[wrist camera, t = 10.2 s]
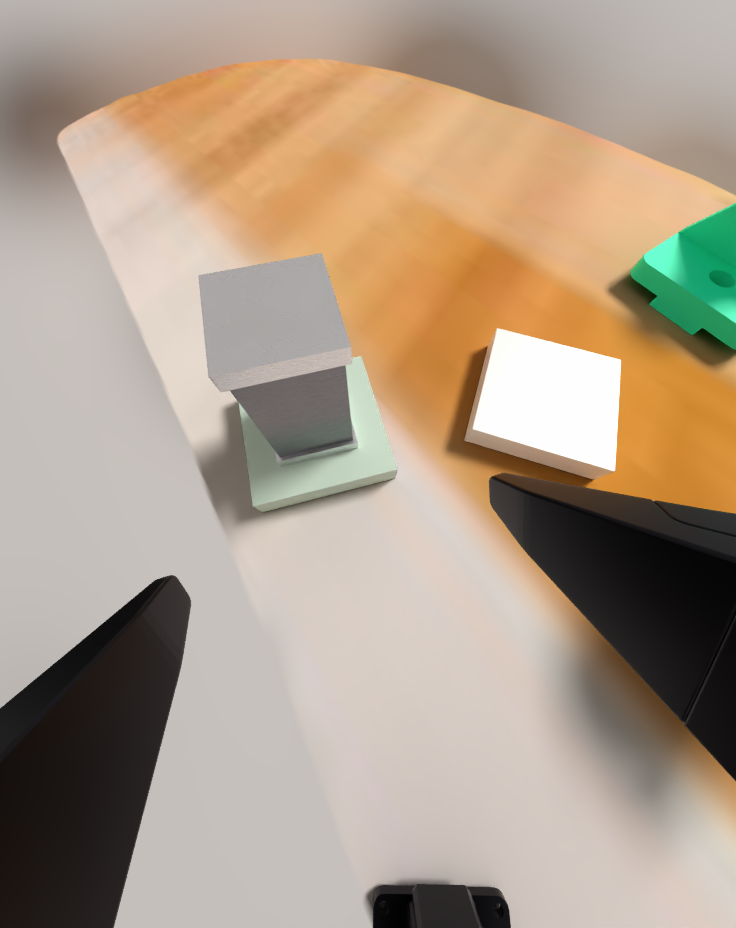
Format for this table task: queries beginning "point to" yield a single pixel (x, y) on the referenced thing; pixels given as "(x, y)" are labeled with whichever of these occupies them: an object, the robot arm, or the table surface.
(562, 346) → the stand
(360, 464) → the stand
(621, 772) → the table surface
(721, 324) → the camera mount
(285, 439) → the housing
